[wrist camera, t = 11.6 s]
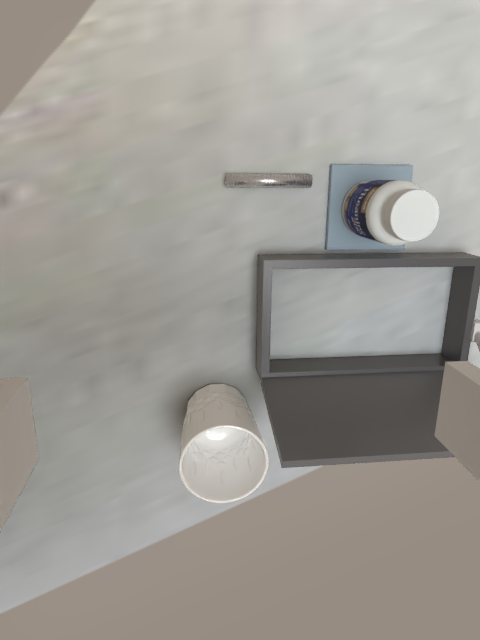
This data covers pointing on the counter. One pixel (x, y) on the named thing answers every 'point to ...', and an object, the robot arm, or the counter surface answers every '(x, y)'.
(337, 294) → the counter surface
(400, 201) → the pill bottle
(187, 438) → the white cup
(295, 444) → the case
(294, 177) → the rod
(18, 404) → the robot arm
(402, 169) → the mat
